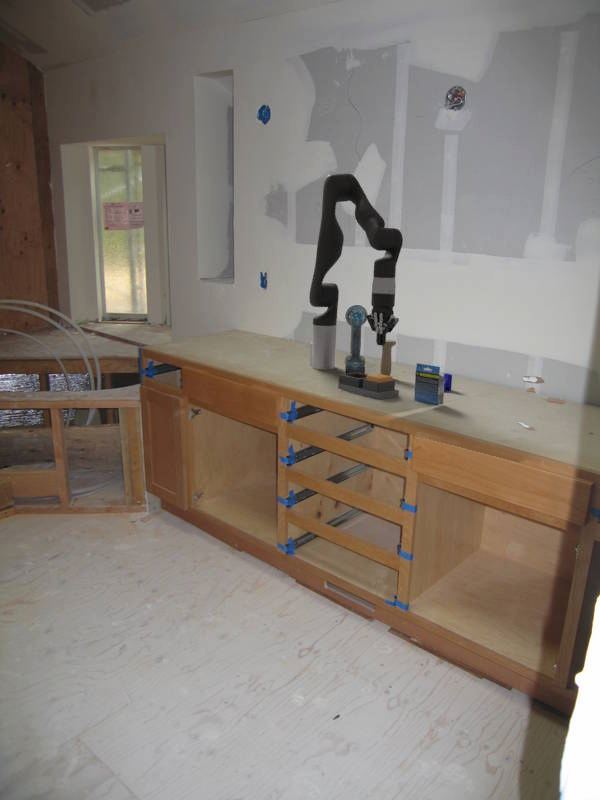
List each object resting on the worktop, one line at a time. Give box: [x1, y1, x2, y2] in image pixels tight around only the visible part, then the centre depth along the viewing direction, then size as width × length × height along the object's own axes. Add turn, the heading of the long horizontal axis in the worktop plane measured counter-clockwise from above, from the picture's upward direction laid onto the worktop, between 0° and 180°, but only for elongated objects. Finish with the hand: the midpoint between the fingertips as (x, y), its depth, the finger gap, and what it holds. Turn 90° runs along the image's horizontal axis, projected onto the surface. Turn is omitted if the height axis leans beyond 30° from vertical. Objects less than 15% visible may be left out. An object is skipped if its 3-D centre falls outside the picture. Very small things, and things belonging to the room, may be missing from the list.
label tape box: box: [413, 362, 445, 405], centre depth 205 cm, size 9×4×12 cm, turn 48°
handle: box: [380, 339, 397, 376], centre depth 237 cm, size 5×6×15 cm
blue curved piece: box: [443, 372, 453, 392], centre depth 222 cm, size 12×4×6 cm, turn 107°
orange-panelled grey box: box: [337, 371, 400, 400], centre depth 217 cm, size 20×9×5 cm, turn 40°
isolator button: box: [366, 373, 393, 383], centre depth 213 cm, size 6×6×2 cm
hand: (380, 345), depth 210 cm, fingers closed
